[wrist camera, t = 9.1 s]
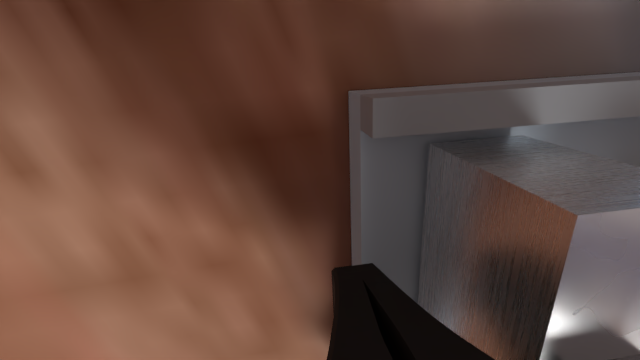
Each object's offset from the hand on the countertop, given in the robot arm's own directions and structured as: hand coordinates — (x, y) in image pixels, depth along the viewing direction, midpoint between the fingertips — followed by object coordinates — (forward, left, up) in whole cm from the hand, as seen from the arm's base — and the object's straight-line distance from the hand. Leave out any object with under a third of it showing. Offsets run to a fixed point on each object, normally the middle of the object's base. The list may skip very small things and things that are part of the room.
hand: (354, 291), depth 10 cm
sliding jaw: (-4, 0, -1) cm, 4 cm away
